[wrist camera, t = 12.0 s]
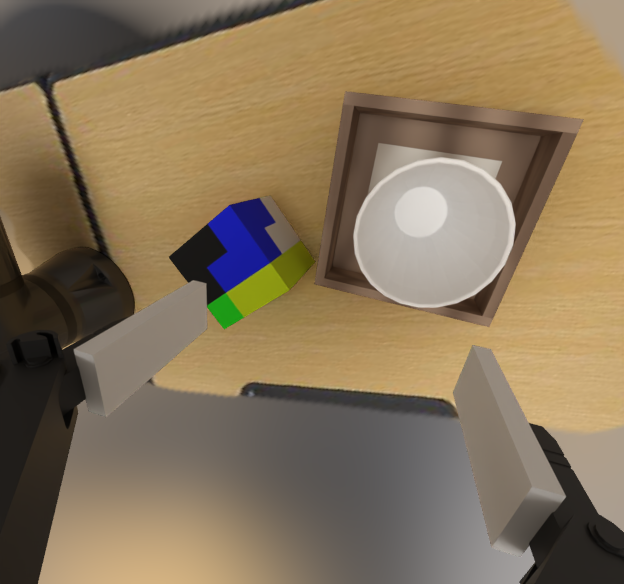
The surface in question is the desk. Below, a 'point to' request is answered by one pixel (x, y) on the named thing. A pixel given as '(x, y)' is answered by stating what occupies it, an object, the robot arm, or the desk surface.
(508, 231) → the cup
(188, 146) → the desk surface
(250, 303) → the puzzle toy
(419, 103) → the walled box
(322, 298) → the desk surface
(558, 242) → the desk surface
